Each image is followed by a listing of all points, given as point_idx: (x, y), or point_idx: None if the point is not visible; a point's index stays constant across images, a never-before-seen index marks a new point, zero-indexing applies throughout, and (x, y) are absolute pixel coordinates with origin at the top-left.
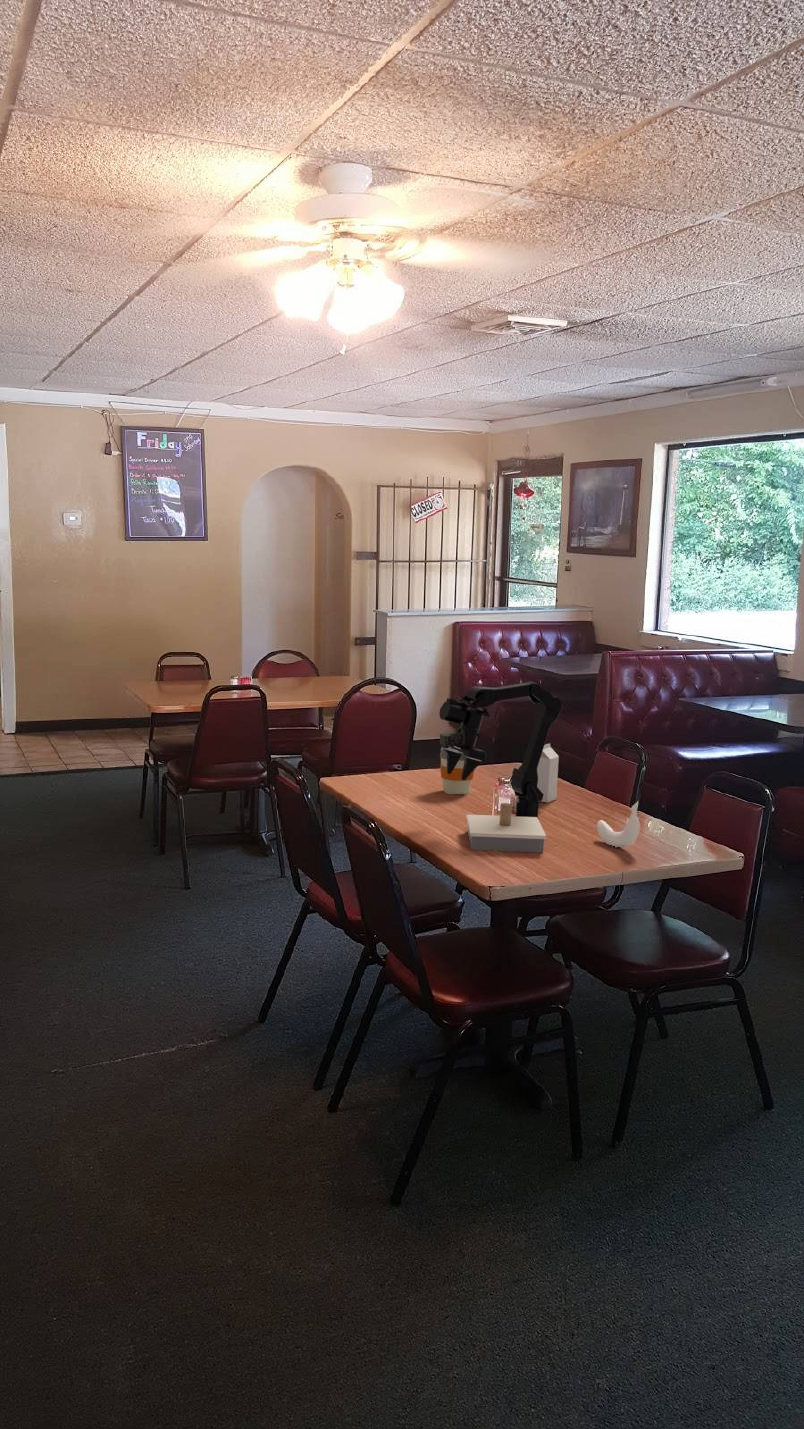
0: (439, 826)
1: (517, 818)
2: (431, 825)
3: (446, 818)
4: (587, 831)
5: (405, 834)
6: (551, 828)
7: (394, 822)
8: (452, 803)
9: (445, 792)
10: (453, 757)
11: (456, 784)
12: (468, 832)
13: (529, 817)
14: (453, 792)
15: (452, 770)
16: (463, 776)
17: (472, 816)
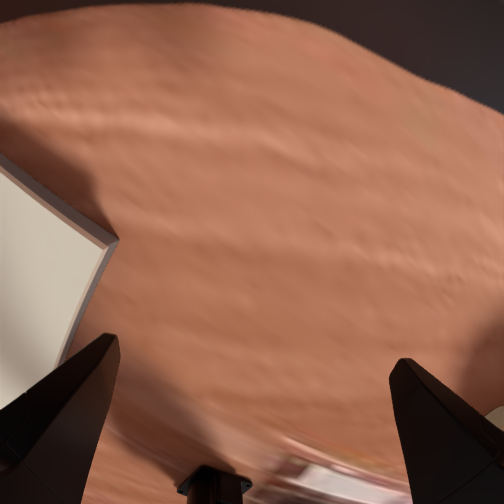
0: (229, 176)
1: (20, 383)
2: (257, 155)
3: (324, 280)
4: None
5: (189, 7)
6: (96, 464)
7: (354, 61)
8: None
9: (498, 407)
10: (457, 496)
11: None
12: (71, 210)
13: None
14: None
15: (395, 411)
16: (83, 354)
17: (65, 252)
